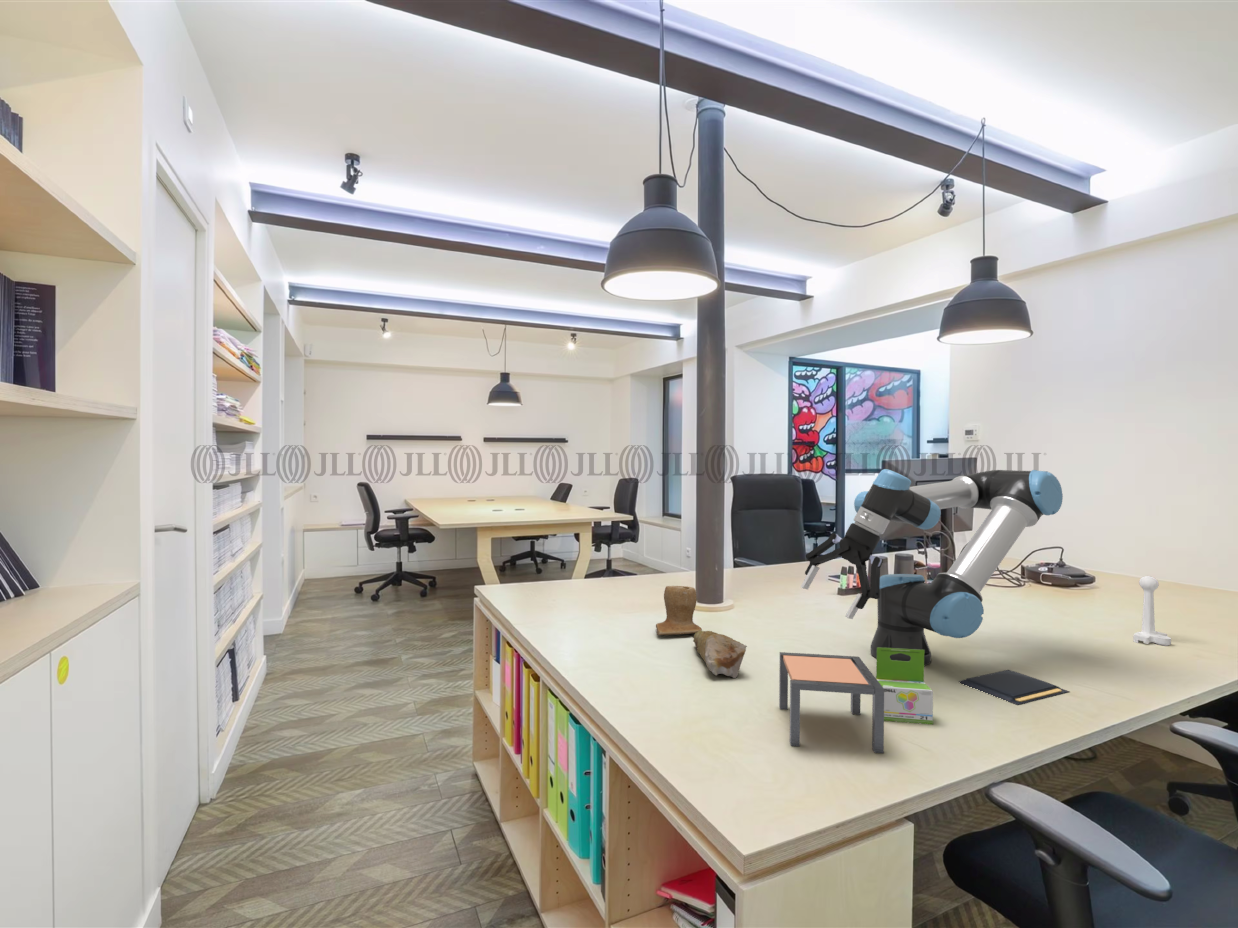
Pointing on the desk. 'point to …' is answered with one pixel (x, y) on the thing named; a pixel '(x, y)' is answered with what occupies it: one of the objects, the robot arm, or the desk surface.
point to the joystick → (1150, 615)
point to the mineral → (720, 652)
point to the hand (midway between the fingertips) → (825, 602)
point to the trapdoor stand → (854, 689)
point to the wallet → (1014, 687)
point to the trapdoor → (823, 670)
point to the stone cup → (678, 611)
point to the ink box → (904, 686)
